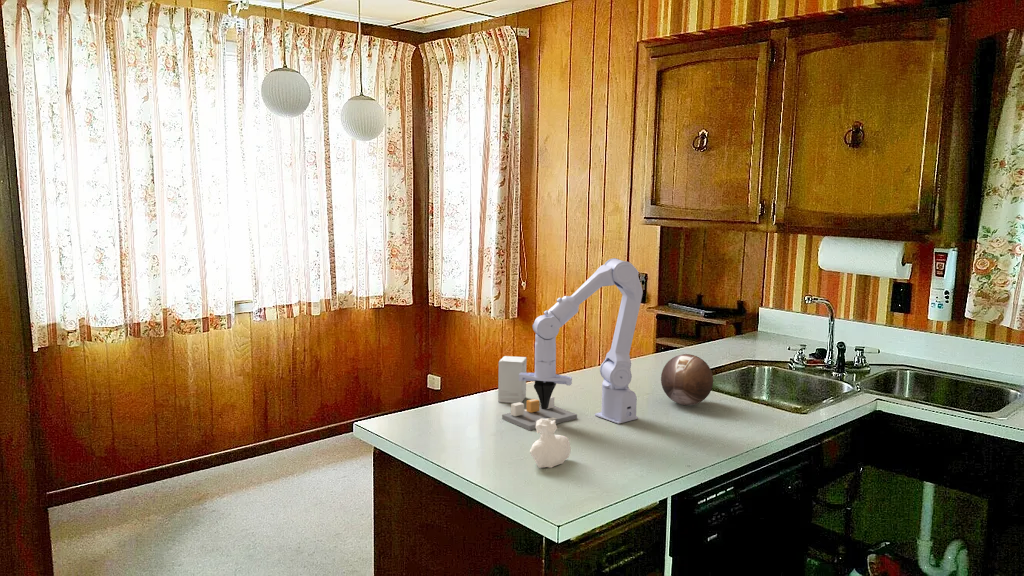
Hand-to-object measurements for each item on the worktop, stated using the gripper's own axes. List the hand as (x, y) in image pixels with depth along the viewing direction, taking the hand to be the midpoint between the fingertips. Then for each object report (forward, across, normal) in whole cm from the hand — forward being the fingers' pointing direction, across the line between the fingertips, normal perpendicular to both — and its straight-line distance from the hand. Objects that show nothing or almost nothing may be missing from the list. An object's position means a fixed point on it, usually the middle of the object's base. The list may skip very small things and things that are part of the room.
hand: (544, 408), depth 200 cm
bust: (+4, -10, +29) cm, 31 cm away
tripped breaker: (+2, +4, -3) cm, 5 cm away
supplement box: (+4, +15, -16) cm, 22 cm away
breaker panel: (+3, +2, -1) cm, 4 cm away
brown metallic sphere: (+4, -35, -30) cm, 46 cm away
